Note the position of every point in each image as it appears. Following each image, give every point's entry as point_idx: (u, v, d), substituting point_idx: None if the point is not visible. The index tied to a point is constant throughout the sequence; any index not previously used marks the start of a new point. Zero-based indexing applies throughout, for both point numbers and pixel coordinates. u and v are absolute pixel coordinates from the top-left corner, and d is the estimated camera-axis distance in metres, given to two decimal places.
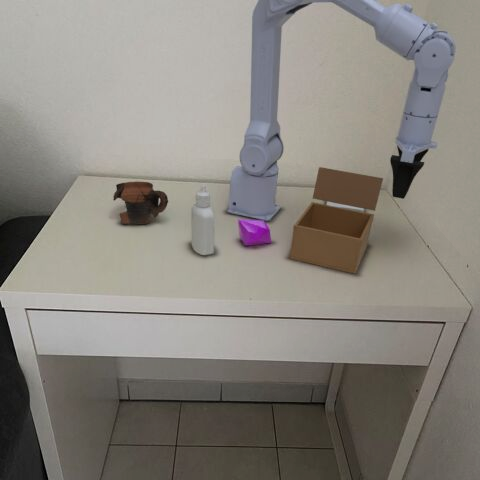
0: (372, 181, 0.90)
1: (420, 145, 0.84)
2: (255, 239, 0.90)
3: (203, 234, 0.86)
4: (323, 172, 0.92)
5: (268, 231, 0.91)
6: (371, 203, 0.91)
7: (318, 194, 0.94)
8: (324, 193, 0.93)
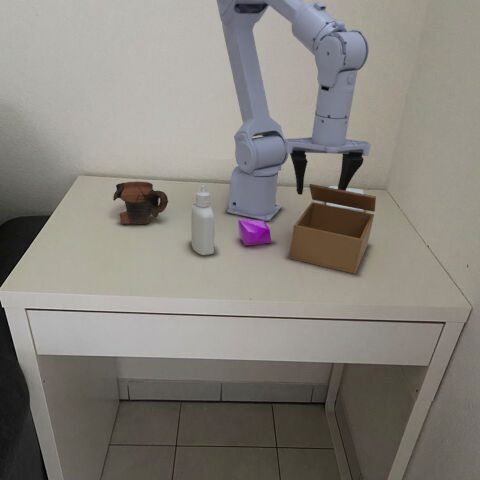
0: (365, 198, 0.87)
1: (314, 143, 0.83)
2: (255, 239, 0.90)
3: (203, 234, 0.86)
4: (315, 189, 0.89)
5: (268, 231, 0.91)
6: (369, 208, 0.90)
7: (316, 198, 0.93)
8: (322, 198, 0.92)
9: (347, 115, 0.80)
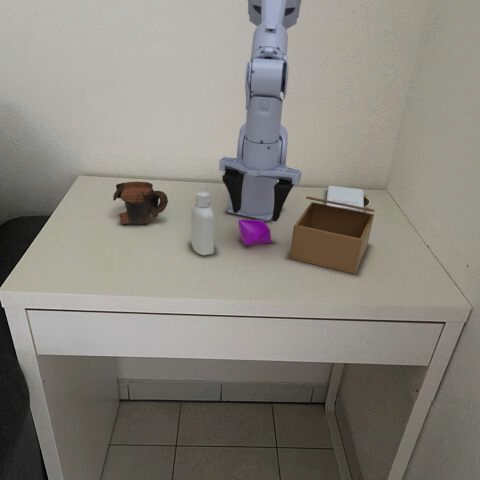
0: (362, 209, 0.87)
1: (242, 165, 0.85)
2: (255, 239, 0.90)
3: (203, 234, 0.86)
4: (312, 199, 0.89)
5: (268, 231, 0.91)
6: None
7: None
8: None
9: (264, 141, 0.80)
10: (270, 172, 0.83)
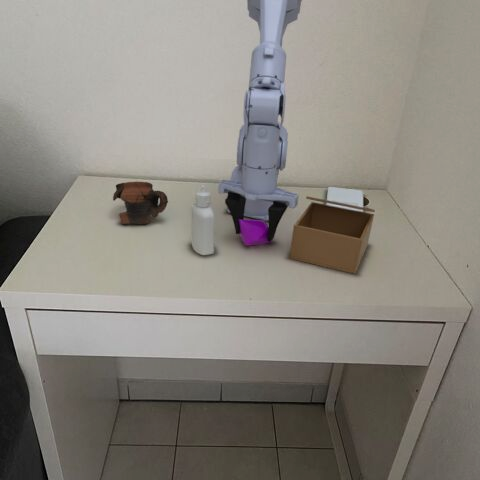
0: (362, 209, 0.87)
1: (241, 188, 0.87)
2: (256, 239, 0.90)
3: (203, 234, 0.86)
4: (312, 199, 0.89)
5: None
6: None
7: None
8: None
9: (262, 167, 0.82)
10: (268, 196, 0.85)
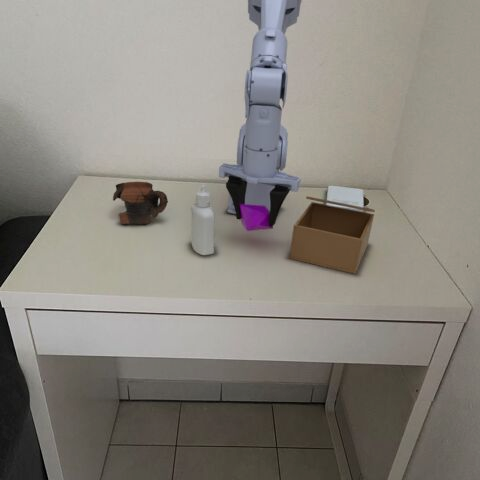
0: (362, 209, 0.87)
1: (242, 172, 0.86)
2: (257, 224, 0.89)
3: (203, 234, 0.86)
4: (312, 199, 0.89)
5: None
6: None
7: None
8: None
9: (264, 149, 0.81)
10: (269, 179, 0.83)
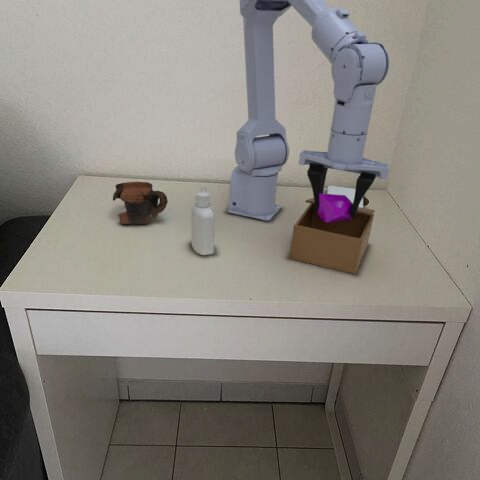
0: None
1: (326, 158, 0.80)
2: (339, 215, 0.83)
3: (203, 234, 0.86)
4: None
5: None
6: None
7: None
8: None
9: (364, 131, 0.76)
10: (357, 166, 0.78)
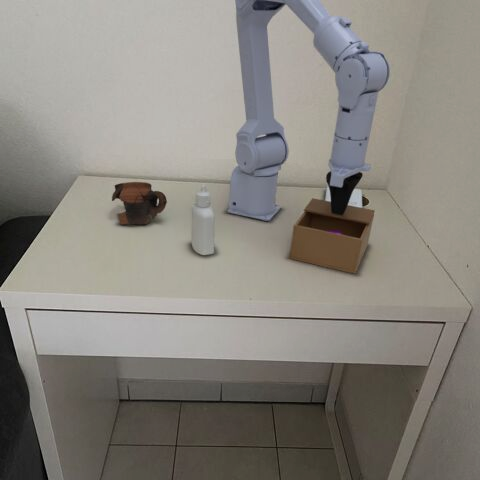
0: None
1: (352, 168, 0.81)
2: None
3: (203, 234, 0.86)
4: None
5: None
6: None
7: None
8: None
9: (367, 136, 0.80)
10: None
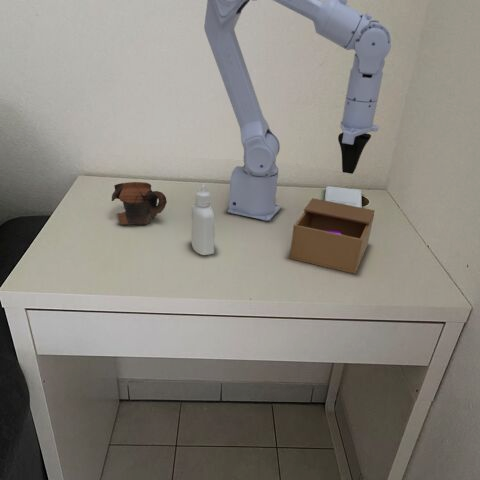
0: None
1: (361, 128, 0.90)
2: None
3: (203, 234, 0.86)
4: None
5: None
6: None
7: None
8: None
9: None
10: None
